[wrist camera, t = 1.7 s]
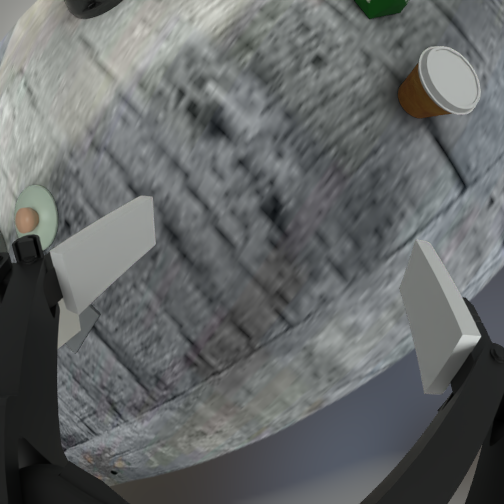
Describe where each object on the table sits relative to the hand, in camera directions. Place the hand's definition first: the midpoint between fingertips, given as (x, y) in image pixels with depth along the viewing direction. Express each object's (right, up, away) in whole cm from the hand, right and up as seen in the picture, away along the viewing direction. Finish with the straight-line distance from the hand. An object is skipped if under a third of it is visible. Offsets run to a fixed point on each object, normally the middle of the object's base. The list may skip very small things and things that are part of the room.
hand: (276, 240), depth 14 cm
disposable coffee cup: (+24, +23, +22) cm, 40 cm away
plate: (-40, +6, +29) cm, 50 cm away
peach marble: (-40, +5, +28) cm, 49 cm away
